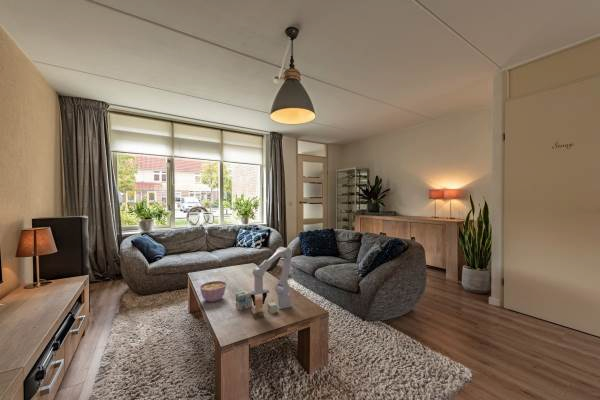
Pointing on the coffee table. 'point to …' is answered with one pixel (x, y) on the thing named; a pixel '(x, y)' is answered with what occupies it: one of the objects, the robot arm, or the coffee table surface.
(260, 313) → the walnut base
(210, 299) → the bowl of food
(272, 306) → the sage cube
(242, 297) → the light bulb box
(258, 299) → the terracotta cube
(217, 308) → the coffee table surface
